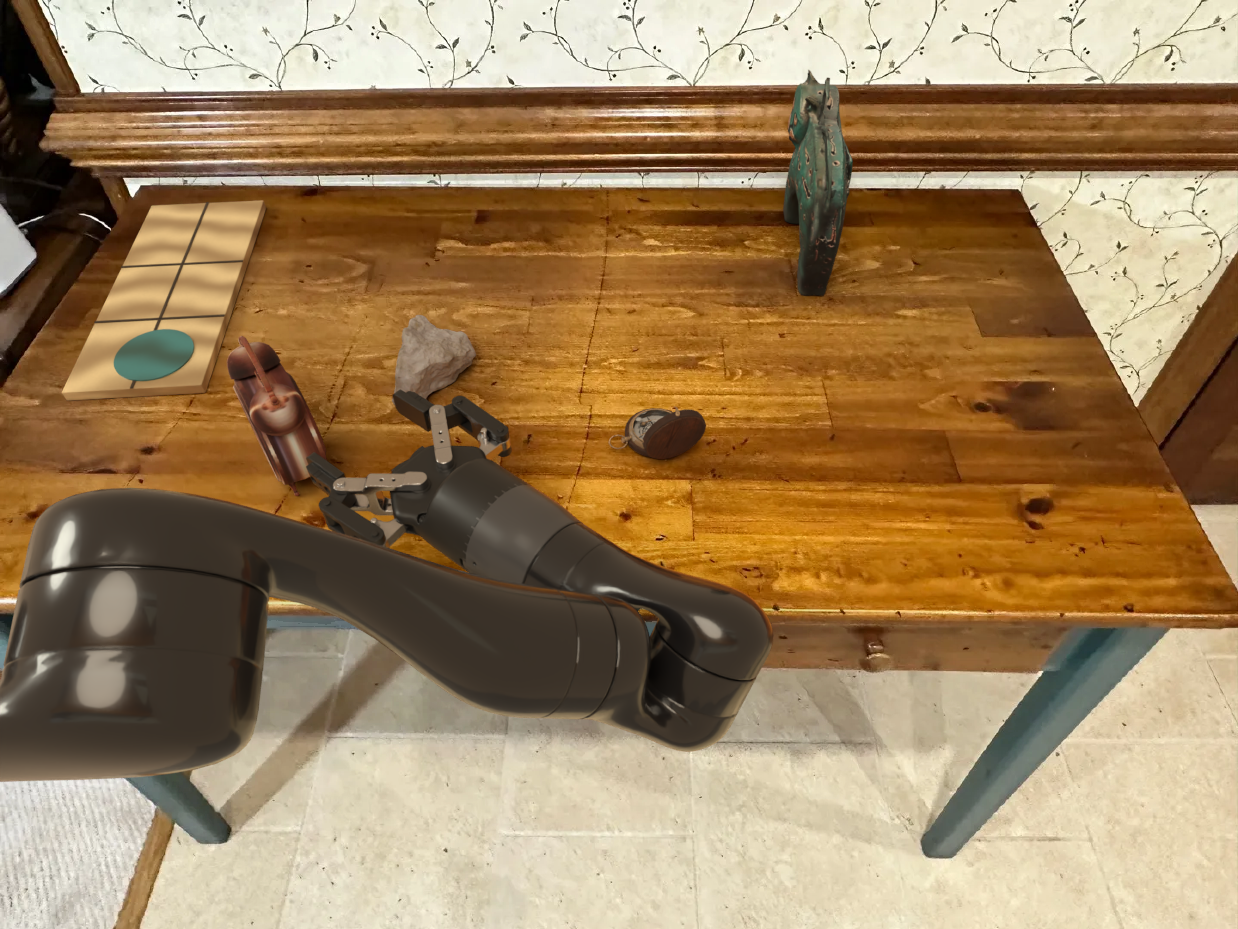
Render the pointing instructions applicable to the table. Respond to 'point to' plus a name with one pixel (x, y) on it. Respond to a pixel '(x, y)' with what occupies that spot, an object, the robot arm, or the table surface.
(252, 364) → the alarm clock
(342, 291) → the table surface
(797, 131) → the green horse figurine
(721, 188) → the table surface
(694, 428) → the compass
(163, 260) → the board
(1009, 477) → the table surface
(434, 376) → the stone
